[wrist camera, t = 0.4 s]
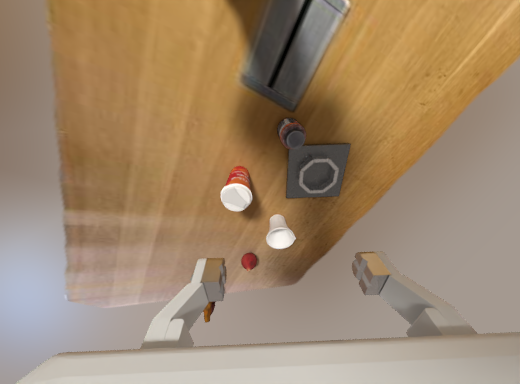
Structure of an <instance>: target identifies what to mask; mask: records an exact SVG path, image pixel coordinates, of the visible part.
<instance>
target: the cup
mask: <svg viewBox="0 0 520 384" xmlns="http://www.w3.org/2000/svg"><path fill="white" fill-rule="evenodd" d="M266 239H267V243H268V245H269V246H271V247H272V248H276V249H284V248H287V247H289V246H290V245H292V244H293V242H294V240H295V239H296V237H295V235H294V233H293V232H292V231H291V230H290V229H289V228H288V226H287V225H286V221H285V218H284V217H283V216H282V215H278V214H277V215H274V216H272V217H271V218H270V230H269V233H268V235H267V237H266Z"/></svg>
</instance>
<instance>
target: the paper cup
mask: <svg viewBox="0 0 520 384" xmlns="http://www.w3.org/2000/svg"><path fill="white" fill-rule="evenodd" d="M221 200H222V202H223V204H224V206H225V207H226V208H228V209H229V210H232V211H242V210H244V209H245V208H246V207H248V206H249V205H250V203H251V201H252V193H251V190H250V178H249V172H248V170H247V169H246V168H244V167H241V166H238V167H235V168H233V169H232V171H231V173H230V175H229V178H228V180H227V183H226V185H225V187H224V188H223V189H222V191H221Z"/></svg>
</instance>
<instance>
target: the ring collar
mask: <svg viewBox="0 0 520 384" xmlns="http://www.w3.org/2000/svg"><path fill="white" fill-rule="evenodd" d="M350 145H351V144H349V143H343V144H313V145H302V146H301V147H300V148H298V149H289V152H288V170H287V188H286V198H301V197H328V196H339V193H340V189H341V184H342V180H343V176H344V171H345V167H346V162H347V158H348V154H349V149H350Z"/></svg>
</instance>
